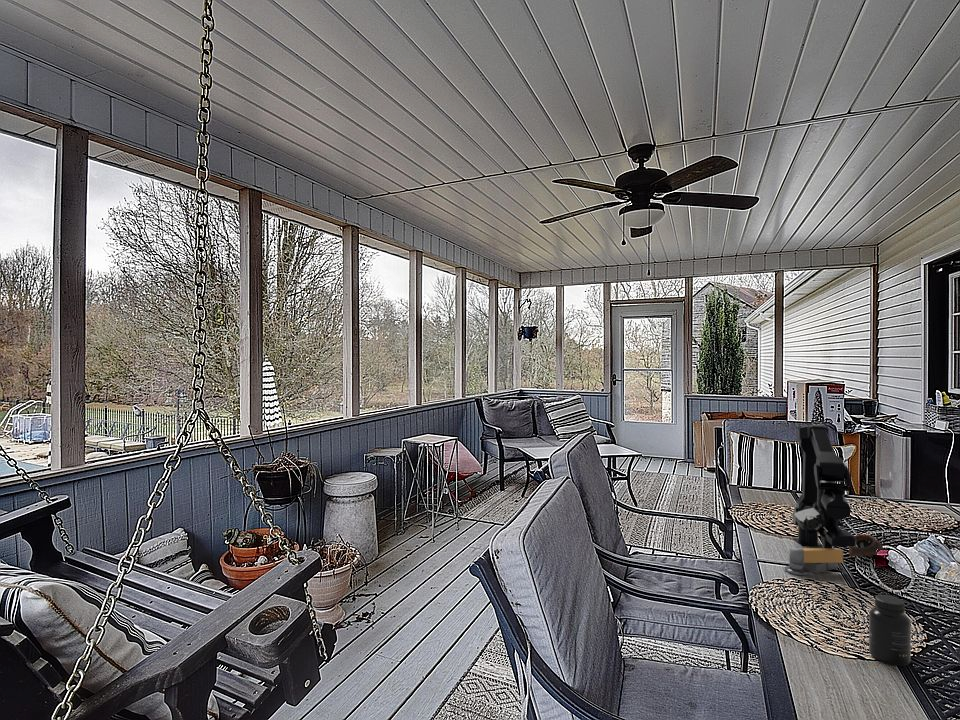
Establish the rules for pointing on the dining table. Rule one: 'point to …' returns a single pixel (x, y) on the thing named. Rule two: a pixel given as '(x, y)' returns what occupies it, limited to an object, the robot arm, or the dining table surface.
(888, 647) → the supplement bottle
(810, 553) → the bar
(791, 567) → the gray flanged disc
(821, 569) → the tile
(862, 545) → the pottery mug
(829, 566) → the tile
